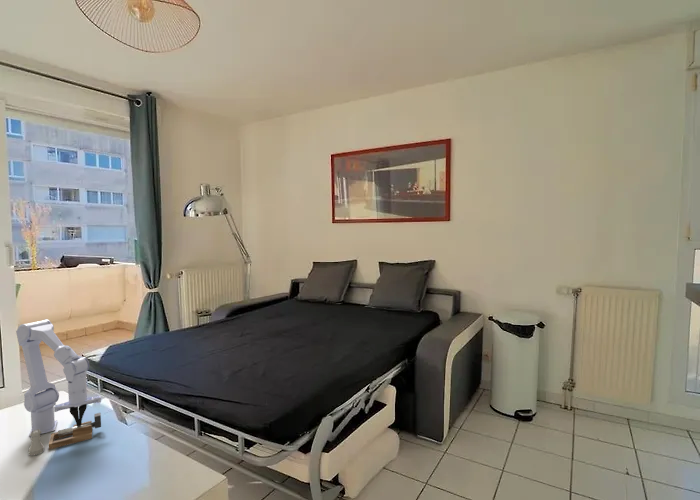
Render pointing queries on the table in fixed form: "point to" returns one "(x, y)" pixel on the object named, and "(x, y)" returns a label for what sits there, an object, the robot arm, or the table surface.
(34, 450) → the rook chess piece
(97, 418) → the grey metal hammer
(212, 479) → the table surface
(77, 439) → the wooden frame
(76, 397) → the robot arm
